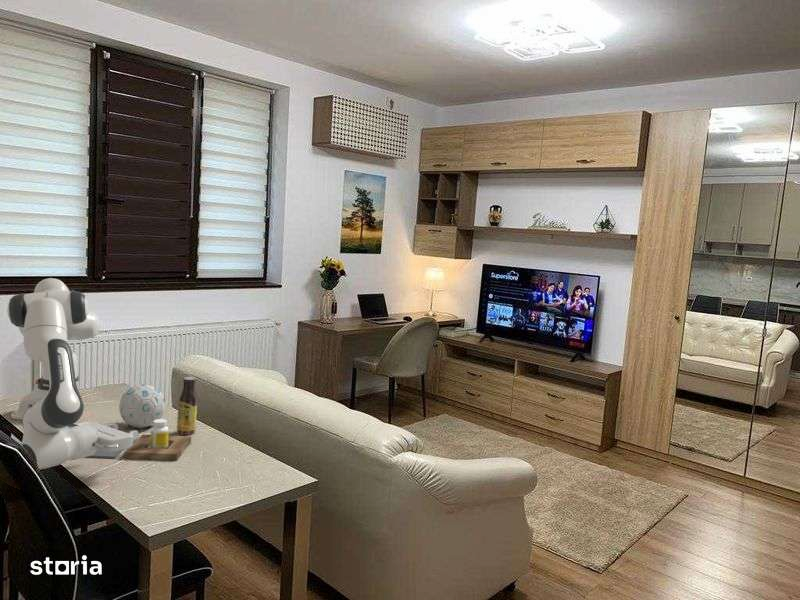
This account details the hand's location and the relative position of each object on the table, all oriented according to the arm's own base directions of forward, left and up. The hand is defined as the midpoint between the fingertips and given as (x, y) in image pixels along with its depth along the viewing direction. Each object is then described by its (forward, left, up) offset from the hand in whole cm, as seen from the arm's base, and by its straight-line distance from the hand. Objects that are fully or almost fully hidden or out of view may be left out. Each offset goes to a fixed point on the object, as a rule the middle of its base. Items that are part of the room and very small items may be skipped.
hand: (126, 429), depth 185 cm
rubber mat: (-9, +7, -10) cm, 16 cm away
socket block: (+7, +10, -10) cm, 16 cm away
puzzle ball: (-6, +32, -10) cm, 35 cm away
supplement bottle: (+7, +10, -10) cm, 16 cm away
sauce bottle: (+11, +27, -10) cm, 31 cm away
